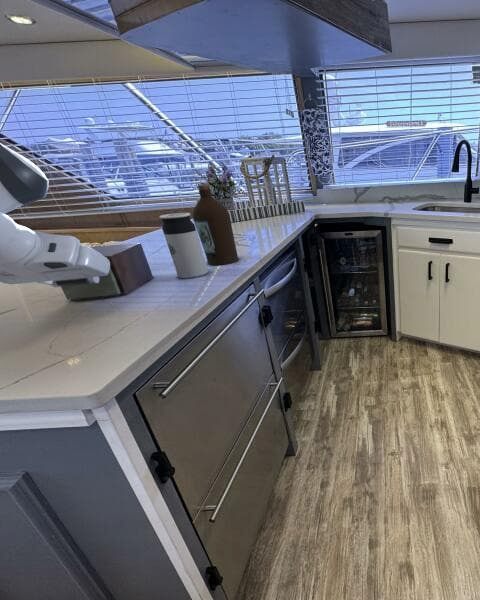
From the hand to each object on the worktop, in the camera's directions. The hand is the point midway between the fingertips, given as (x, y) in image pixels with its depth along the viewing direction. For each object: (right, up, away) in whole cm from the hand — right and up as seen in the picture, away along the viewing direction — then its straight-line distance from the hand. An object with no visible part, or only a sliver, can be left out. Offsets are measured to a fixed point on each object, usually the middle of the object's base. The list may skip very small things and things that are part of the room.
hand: (78, 282), depth 77 cm
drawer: (-1, -2, +8) cm, 8 cm away
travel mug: (+14, +3, +21) cm, 26 cm away
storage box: (-2, -1, +13) cm, 13 cm away
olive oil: (+16, +9, +34) cm, 39 cm away
